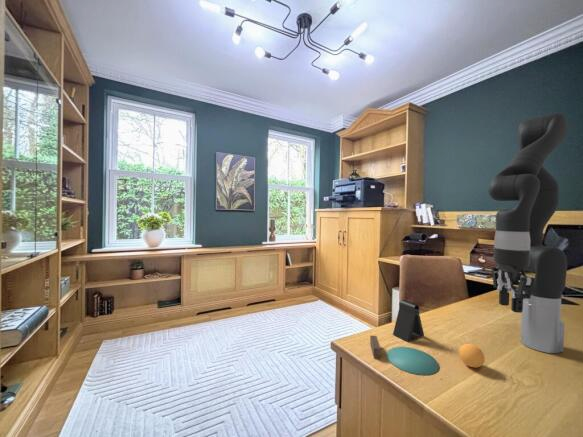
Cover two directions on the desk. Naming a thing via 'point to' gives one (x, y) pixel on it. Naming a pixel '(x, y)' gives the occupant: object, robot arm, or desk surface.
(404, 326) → the phone stand
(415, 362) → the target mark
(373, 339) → the stop bar
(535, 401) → the desk surface
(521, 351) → the desk surface
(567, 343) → the desk surface
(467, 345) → the ball
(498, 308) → the desk surface
